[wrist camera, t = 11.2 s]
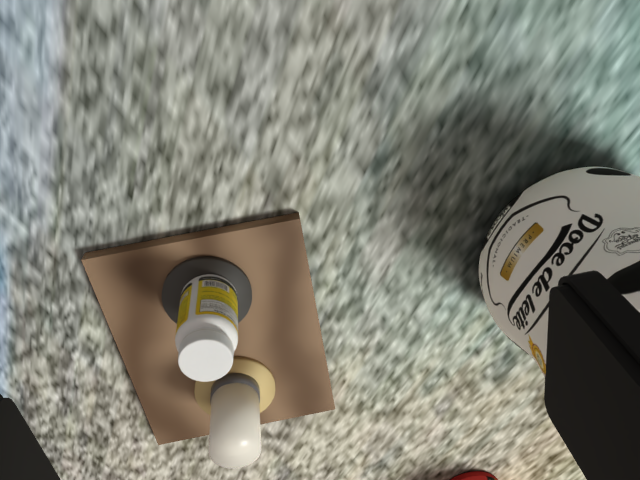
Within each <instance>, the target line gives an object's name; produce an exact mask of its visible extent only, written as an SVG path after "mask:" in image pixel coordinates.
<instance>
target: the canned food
mask: <svg viewBox="0 0 640 480" xmlns="http://www.w3.org/2000/svg"><path fill="white" fill-rule="evenodd" d="M450 480H498V479H497V478H496V477H495V476H493V475H492V474H489V473H487V472H481V471H473V472H467V473H463V474H460V475H458V476H455V477H453V478H452V479H450Z"/></svg>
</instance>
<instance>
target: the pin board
mask: <svg viewBox="0 0 640 480" xmlns="http://www.w3.org/2000/svg"><path fill="white" fill-rule="evenodd" d="M81 261H82V263H83V265H84V268H85V270H86V273H87V275H88V277H89V280H90V282H91V285H92V287H93V289H94V292H95V294H96V297H97V299H98V301H99V304H100V306H101V309H102V311H103V313H104V316H105V318H106V321H107V323H108V325H109V328H110V330H111V333H112V335H113V337H114V340H115V342H116V345H117V347H118V349H119V352H120V354H121V356H122V359H123V361H124V364H125V366H126V368H127V371H128V373H129V376H130V378H131V380H132V383H133V385H134V388H135V390H136V392H137V395H138V397H139V400H140V402H141V404H142V407H143V409H144V412H145V414H146V416H147V419H148V421H149V424H150V426H151V428H152V431H153V433H154V436H155V438H156V440H157V443H158V445H161V444H165V443H170V442H175V441H180V440H185V439H190V438H195V437H200V436H205V435H209V434H210V415H211V404H210V395H211V387H212V385H213V383H214V382H215V381H216V380H214V381H208V382H202V381H196V380H193V379H191V378H189V377H187V376H186V375H185V374H184V373H183V372H182V371H181V369H180V367H179V364H178V353H179V352H178V350H177V348H176V344H175V335H176V328H177V320H178V313H179V305H180V299H181V293H182V290H183V288H184V287H185V285H186V284H187V283H188V282H189V281H191V280H192V279H194V278H196V277H198V276H201V275H207V274H213V275H218V276H221V277H223V278H225V279H227V280H228V281H229V282H230V283H231V284H232V285H233V286H234V288H235V290H236V292H237V298H238V344H237V347H236V350H235V351H234V356H233V364H232V367H231V369H230V370H229V372H228V373H227V374H230V373H243V374H246V375H249V376H251V377H252V378H254V379H255V380H256V381H257V383H258V385H259V388H260V403H259V408H260V424H264V423H269V422H274V421H279V420H284V419H289V418H294V417H299V416H304V415H309V414H314V413H319V412H324V411H329V410H334V409H335V406H334V400H333V395H332V390H331V384H330V379H329V373H328V368H327V363H326V357H325V352H324V346H323V341H322V336H321V330H320V325H319V319H318V314H317V309H316V303H315V298H314V292H313V287H312V282H311V276H310V271H309V265H308V260H307V255H306V249H305V244H304V239H303V233H302V228H301V222H300V217H299V212H298V213H293V214H287V215H282V216H277V217H272V218H266V219H261V220H256V221H250V222H245V223H240V224H234V225H229V226H224V227H219V228H213V229H208V230H203V231H197V232H192V233H187V234H181V235H176V236H171V237H166V238H160V239H155V240H150V241H144V242H139V243H134V244H128V245H123V246H118V247H113V248H107V249H102V250H97V251H91V252H86V253H84V255H83V258H82V260H81Z"/></svg>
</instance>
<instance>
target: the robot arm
mask: <svg viewBox="0 0 640 480" xmlns="http://www.w3.org/2000/svg"><path fill="white" fill-rule="evenodd" d="M544 399H545V406H546V409H547V412H548V415H549V417H550V419H551V421H552V423H553V424H554V426H555V427H556V429H557V431H558V432H559V434H560V436H561V437H562V439H563V441H564V442H565V444H566V446H567V447H568V449H569V451H570V452H571V454H572V456H573V457H574V459H575V461H576V462H577V464H578V466H579V467H580V469H581V470H582V472H583V474H584V475H585V477H586V479H587V480H640V312H639V311H638V310H637V309H636V308H635V307H634V306H633V305H632V304H631V303H630V302H629V301H628V300H627V299H626V298H625V297H624V296H623V295H622V294H621V293H620V292H619V291H618V290H617V289H616V288H615V287H614V286H613V285H612V284H611V283H610V282H609V281H608V280H607V279H606V278H605V277H604V276H603V275H602V274H601V273H599V272H598V271H594V270H593V271H588V272H583V273H578V274H573V275H568V276H563V277H561V278H560V280H559V282H558V286H556V287H553V288H551V290H550V294H549V312H548V332H547V353H546V374H545V395H544ZM0 480H60V478H59V476H58V475H57V473H56V471H55V470H54V468H53V466H52V465H51V463H50V461H49V460H48V458H47V456H46V455H45V453H44V451H43V450H42V448H41V446H40V445H39V443H38V441H37V440H36V438H35V436H34V435H33V433H32V431H31V430H30V428H29V426H28V425H27V423H26V421H25V420H24V418H23V416H22V415H21V413H20V411H19V410H18V408H17V406H16V405H15V403H14V402H13V401H12V400H11V399H10V398H3V397H2V395H1V394H0Z"/></svg>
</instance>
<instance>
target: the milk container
mask: <svg viewBox="0 0 640 480" xmlns="http://www.w3.org/2000/svg"><path fill="white" fill-rule="evenodd" d="M593 270H594V271H598V272H599V273H601V274H602V275H603V276H604V277H605V278H606V279H607V280H608V281H609V282H610V283H611V284H612V285H613V286H614V287H615V288H616V289H617V290H618V291H619V292H620V293H621V294H622V295H623V296H624V297H625V298H626V299H627V300H628V301H629V302H630V303H631V304H632V305H633V306H634V307H635V308H636V309H637V310H638V311H639V312H640V177H638V176H636V175H633V174H630V173H627V172H624V171H620V170H617V169H612V168H606V167H583V168H576V169H572V170H566V171H562V172H558V173H555V174H553V175H550V176H548V177H546V178H544V179H542V180H540V181H538V182H536V183H534V184H533V185H531V186H529V187H528V188H526V189H525V190H523V191H522V192H521V193H520V194H519V195H517V196H516V197H515V198H514V199H513V200H512V201H511V202H510V203H509V204H508V205H507V206H506V207H505V208H504V209H503V210H502V211H501V212H500V214H499V215H498V217H497V218H496V220H495V221H494V223H493V225H492V226H491V228H490V230H489V231H488V233H487V235H486V237H485V240H484V243H483V247H482V251H481V255H480V260H479V281H480V286H481V290H482V293H483V297H484V300H485V302H486V305H487V307H488V309H489V312H490V314H491V315H492V317H493V319H494V320H495V322H496V324H497V325H498V326H499V328H500V329H501V330H502V331H503V332H504V334H505V335H506V336H507V337H508V338H509V339H510V340H511V341H513V342H514V343H515V344H516V345H517V346H518V347H520V348H521V349H523V350H524V351H525V352H526V353H528V354H529V355H530V356H532V358H533V359H534V360H535V361H536V363H537V365H538V366H539V368H540V369H541V371H542V373H543V374H544V376H545V374H546V353H547V332H548V312H549V294H550V290H551V288H553V287H556V286H558V282H559V280H560V278H561V277H563V276H568V275H573V274H578V273H583V272H588V271H593Z"/></svg>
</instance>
